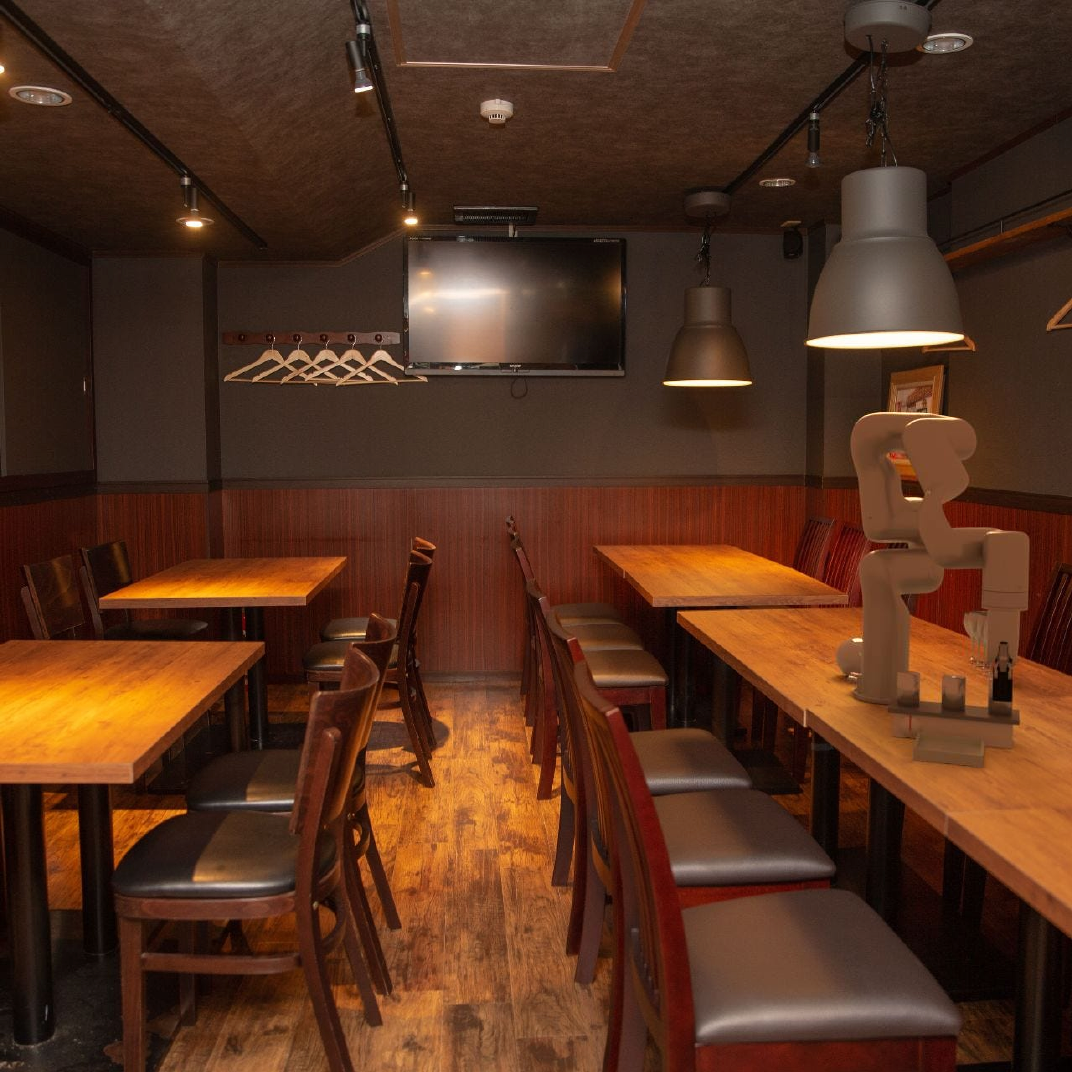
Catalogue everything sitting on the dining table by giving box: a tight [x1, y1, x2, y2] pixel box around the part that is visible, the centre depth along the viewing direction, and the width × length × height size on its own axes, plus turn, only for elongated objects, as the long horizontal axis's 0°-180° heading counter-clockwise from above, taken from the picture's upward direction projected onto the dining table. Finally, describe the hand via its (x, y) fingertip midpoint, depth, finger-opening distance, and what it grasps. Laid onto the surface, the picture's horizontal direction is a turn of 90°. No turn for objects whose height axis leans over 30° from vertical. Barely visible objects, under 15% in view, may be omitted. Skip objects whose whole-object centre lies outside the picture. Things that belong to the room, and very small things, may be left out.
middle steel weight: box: [941, 673, 967, 712], centre depth 192 cm, size 4×4×6 cm
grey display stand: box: [886, 698, 1021, 750], centre depth 192 cm, size 22×8×5 cm, turn 66°
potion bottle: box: [835, 636, 862, 677], centre depth 243 cm, size 9×10×15 cm
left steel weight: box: [897, 670, 921, 707], centre depth 195 cm, size 4×4×6 cm
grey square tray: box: [912, 733, 985, 769], centre depth 181 cm, size 11×11×2 cm
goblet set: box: [963, 610, 1008, 679], centre depth 252 cm, size 28×6×13 cm, turn 170°
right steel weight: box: [987, 677, 1014, 716], centre depth 189 cm, size 4×4×6 cm
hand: (1002, 695), depth 188 cm, fingers open, 9 cm apart
